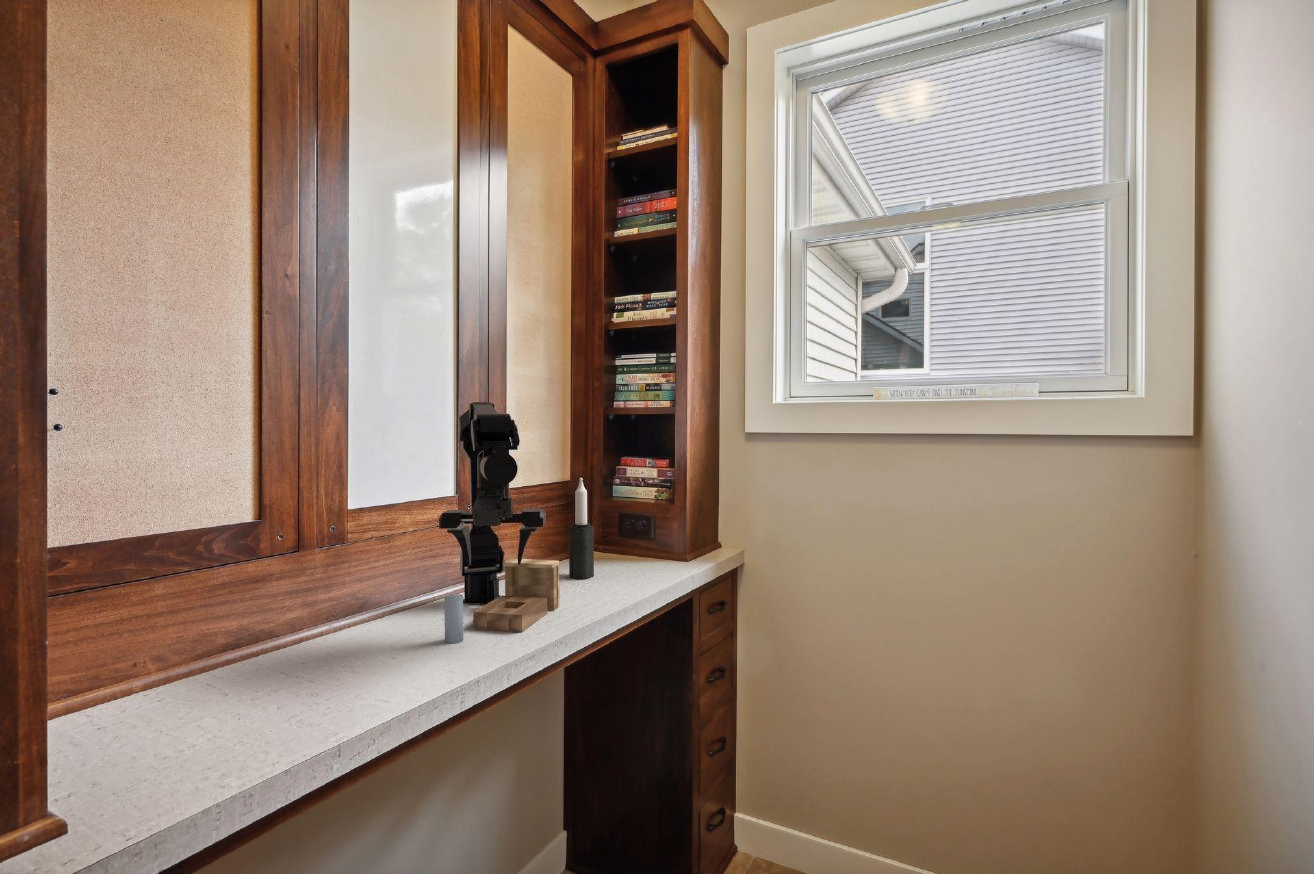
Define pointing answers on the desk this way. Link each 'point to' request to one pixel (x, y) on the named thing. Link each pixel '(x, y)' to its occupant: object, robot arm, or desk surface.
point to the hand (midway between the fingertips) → (494, 564)
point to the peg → (453, 618)
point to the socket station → (522, 596)
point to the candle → (581, 539)
